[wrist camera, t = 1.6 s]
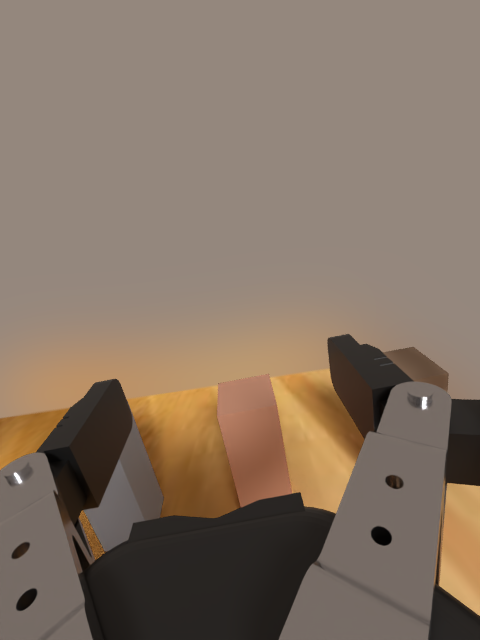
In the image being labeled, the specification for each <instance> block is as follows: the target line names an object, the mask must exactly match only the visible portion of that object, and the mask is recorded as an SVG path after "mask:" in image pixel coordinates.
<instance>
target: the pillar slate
mask: <svg viewBox="0 0 480 640" xmlns="http://www.w3.org/2000/svg"><path fill="white" fill-rule="evenodd" d="M127 403H128V401H127ZM128 405H129V404H128ZM129 408H130V407H129ZM130 411H131V409H130ZM131 414H132V412H131ZM132 420H133V424H132V429H131V432H130V434H129V437H128V439H127V442H126V444H125V446H124V449H123V451H122V453H121V456H120V458H119V460H118V463H117V465H116V468H115V470H114V472H113V475H112V477H111V479H110V482H109V484H108V487H107V489H106V491H105V494H104V496H103V498H102V501H101V503H100V505H99V507H98V508H92V509H87V510H84V512H85V514H86V516H87V518H88V520H89V522H90V524H91V526H92V528H93V530H94V532H95V533H96V535H97V537H98V539H99V541H100V543H101V545H102V547H103V549H104V551H105V552H106V551H109V550H111V549H112V548H113V547H115V546H117V545H119V544H121V543H122V542H124V541H127V540H128V539H129V535H130V532H131V528H132V525H133V523H136V522H141V521H146V520H152V519H157V518H160V513H161V509H162V504H163V499H164V497H163V494H162V492H161V489H160V486H159V484H158V481H157V478H156V476H155V473H154V470H153V468H152V465H151V462H150V460H149V457H148V454H147V452H146V449H145V446H144V444H143V441H142V439H141V436H140V433H139V431H138V428H137V425H136V423H135V420H134V417H133V415H132Z"/></svg>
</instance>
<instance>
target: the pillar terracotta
mask: <svg viewBox="0 0 480 640" xmlns="http://www.w3.org/2000/svg"><path fill="white" fill-rule="evenodd" d="M217 417H218V421H219V425H220V429H221V433H222V437H223V441H224V445H225V448H226V452H227V456H228V460H229V464H230V468H231V472H232V475H233V479H234V483H235V487H236V491H237V495H238V499H239V502H240V506H241V507H244V506H246V505H248V504H250V503H253V502H255V501H257V500H261V499H266V498H272V497H277V496H282V495H288V494H292V490H291V484H290V478H289V473H288V467H287V461H286V455H285V449H284V444H283V438H282V432H281V426H280V420H279V415H278V409H277V404H276V400H275V396H274V392H273V388H272V385H271V381H270V377H269V374H266V375H261V376H255V377H250V378H245V379H239V380H234V381H229V382H223V383H218V407H217Z"/></svg>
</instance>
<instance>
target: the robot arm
mask: <svg viewBox="0 0 480 640" xmlns="http://www.w3.org/2000/svg"><path fill="white" fill-rule="evenodd" d="M328 353H329V363H330V373H331V379H332V383H333V386H334V389H335V391H336V393H337V394H338V396H339V398H340V399H341V401H342V403H343V404H344V406H345V408H346V409H347V411H348V413H349V414H350V416H351V417H352V419H353V421H354V422H355V424H356V426H357V427H358V429H359V431H360V432H361V434H362V436H363V437H364V439H365V440H364V443H363V446H362V448H361V451H360V453H359V456H358V458H357V461H356V464H355V466H354V469H353V471H352V474H351V477H350V479H349V482H348V484H347V487H346V490H345V492H344V495H343V497H342V500H341V503H340V505H339V508H338V510H337V513H336V514H335V513H333V512H330V511H327V510H323V509H319V508H313V507H304V504H303V500H302V497H301V493H300V492H299V493H293V494H288V495H282V496H277V497H272V498H266V499H261V500H257V501H255V502H253V503H250V504H248V505H246V506H244V507H241V508H239V509H237V510H235V511H232V512H230V513H228V514H225V515H223V516H221V517H218V518H201V517H187V516H168V517H163V518H157V519H152V520H146V521H141V522H136V523H133V525H132V528H131V532H130V535H129V539H128V540H127V541H124V542H122V543H121V544H119V545H117V546H115V547H113V548H112V549H111V550H109V551H108V552H106V553H105V554H103V555H102V556H101V557H99V558H98V559H97V560H96V561H95V558H94V556H93V553H92V550H91V547H90V545H89V542H88V539H87V536H86V534H85V531H84V528H83V526H82V523H81V521H80V520H79V518H78V517H79V515H80V513H81V511H82V510H87V509H92V508H98V507H99V505H100V503H101V501H102V498H103V496H104V494H105V491H106V489H107V487H108V484H109V482H110V479H111V477H112V475H113V472H114V470H115V468H116V465H117V463H118V460H119V458H120V456H121V453H122V451H123V449H124V446H125V444H126V442H127V439H128V437H129V434H130V432H131V429H132V424H133V420H132V414H131V411H130V408H129V405H128V403H127V400H126V397H125V395H124V392H123V390H122V387H121V384H120V383H119V381H118V380H117V379H112V380H107V381H101V382H96V383H94V384H93V386H92V387H91V389H90V390H89V391H88V392H87V394H86V395H85V396H84V398H82V399H81V400H80V401H78V402H77V403H76V404H75V405H73V406H72V407H71V408H70V409H69V410H68V412H67V413H66V414H65V416H64V417H63V419H62V420H61V421H60V422H59V423H58V425H57V428H54V430H53V431H52V432H51V434H50V435H49V436H48V438H47V439H46V440H45V441H44V443H43V444H42V445H41V447H40V448H39V449H38V450H37V452H36V453H32V454H28V455H25V456H23V457H20V458H18V459H16V460H15V461H13V462H11V463H10V464H8V465H7V466H5V467H4V468H3V469H1V470H0V640H480V616H479V615H477V614H476V613H475V612H473V611H472V610H471V609H469V608H468V607H467V606H465V605H464V604H463V603H461V602H460V601H459V600H457V599H456V598H455V597H453V596H452V595H451V594H449V593H448V592H446V591H445V590H444V589H442V588H441V587H440V586H439V583H440V569H441V554H442V540H443V528H444V516H445V503H446V491H447V483H455V484H465V485H475V486H480V400H461V399H451V397H450V395H449V394H448V393H447V392H446V391H445V390H443V389H442V388H440V387H438V386H435V385H433V384H429V383H424V382H414V381H413V380H412V379H411V378H410V377H409V376H408V375H407V374H406V373H405V372H403V371H402V370H401V369H400V368H399V367H398V366H397V365H396V364H393V362H392V361H391V360H390V359H389V358H387V356H386V355H385V354H384V353H383V352H381V351H380V350H379V349H377V348H375V347H373V346H370V345H368V344H363V345H359V344H358V343H357V341H355V339H354V338H352V336H351V335H349V334H346V335H341V336H335V337H330V338H328Z"/></svg>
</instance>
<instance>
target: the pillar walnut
mask: <svg viewBox="0 0 480 640" xmlns="http://www.w3.org/2000/svg"><path fill="white" fill-rule="evenodd" d="M384 354H385V355H386V356H387V358H389V359H390V360H391V361H392V362H393V364H396V365H397V366H398V367H399V368H400V369H401V370H402V371H403V372H405V373H406V374H407V375H408V376H409V377H410V378H411V379H412V380H413V381H414V382H424V383H429V384H433V385H435V386H438V387H440V388H442V389H443V390H445V391H446V392H447V390H448V373H447V372H446V371H445V370H443V369H442V368H441V367H439V366H438V365H437V364H435V363H434V362H433V361H431V360H430V359H429V358H427V357H426V356H425V355H423V354H422V353H421V352H419V351H418V350H417V349H415V348H414V347H410V348H405V349H399V350H394V351H389V352H384Z"/></svg>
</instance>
